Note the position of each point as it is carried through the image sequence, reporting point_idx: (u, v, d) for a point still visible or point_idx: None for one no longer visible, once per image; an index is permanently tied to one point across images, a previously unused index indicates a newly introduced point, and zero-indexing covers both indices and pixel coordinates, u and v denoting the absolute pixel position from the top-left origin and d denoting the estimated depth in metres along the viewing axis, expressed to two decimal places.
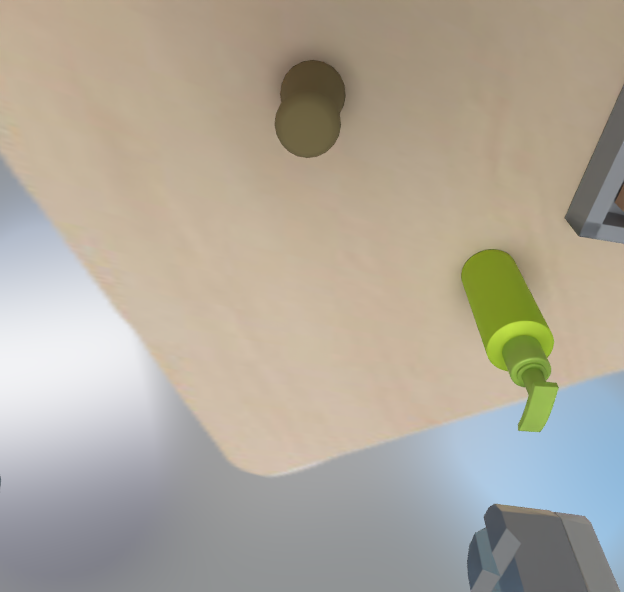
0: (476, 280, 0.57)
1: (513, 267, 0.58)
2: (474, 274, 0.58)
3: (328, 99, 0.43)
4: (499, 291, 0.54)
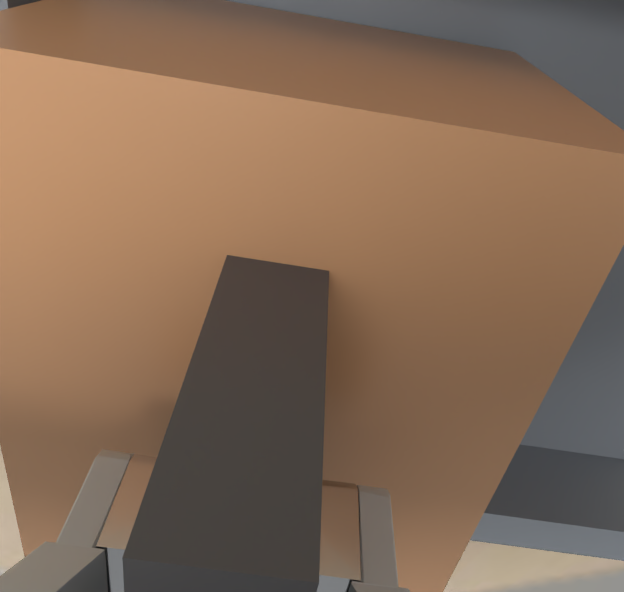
0: None
1: None
2: None
3: None
4: None
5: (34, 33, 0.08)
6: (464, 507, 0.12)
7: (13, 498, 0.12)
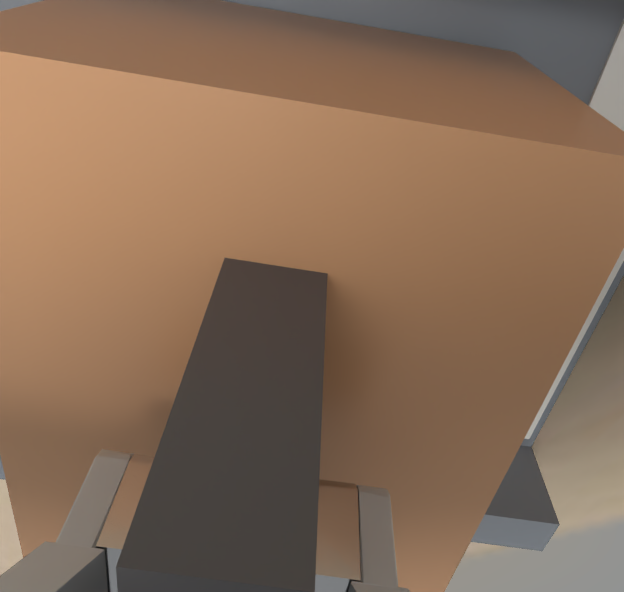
0: None
1: None
2: None
3: None
4: None
5: (30, 35, 0.08)
6: (463, 510, 0.12)
7: (12, 500, 0.12)
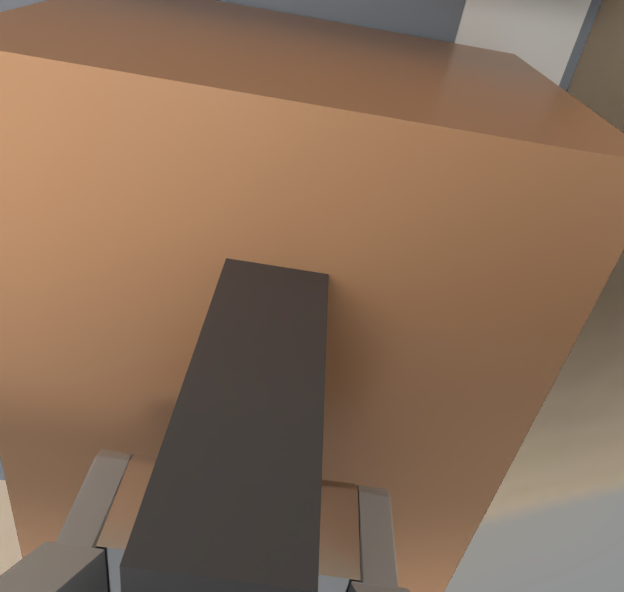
0: None
1: None
2: None
3: None
4: None
5: (32, 35, 0.08)
6: (464, 511, 0.12)
7: (11, 501, 0.12)
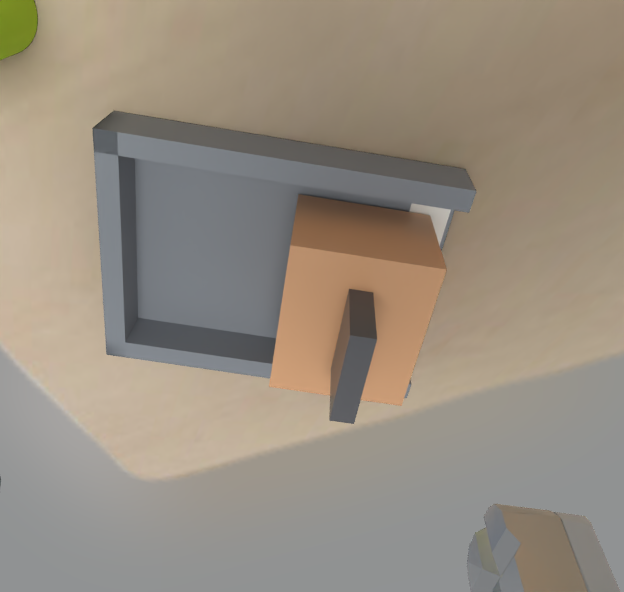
0: None
1: (13, 38, 0.35)
2: None
3: None
4: None
5: (307, 239, 0.36)
6: (409, 360, 0.40)
7: (273, 359, 0.40)
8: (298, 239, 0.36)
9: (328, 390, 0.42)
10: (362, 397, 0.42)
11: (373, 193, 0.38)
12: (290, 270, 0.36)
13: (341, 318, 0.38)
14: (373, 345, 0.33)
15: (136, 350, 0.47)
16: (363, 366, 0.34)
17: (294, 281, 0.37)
